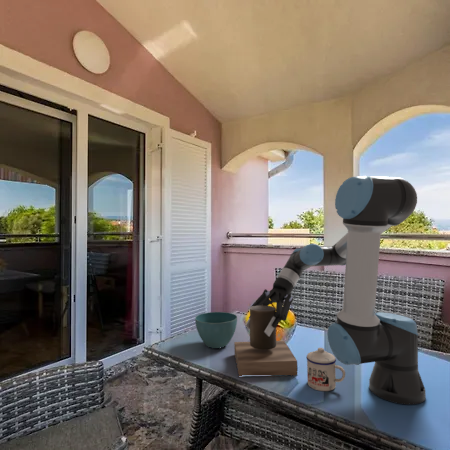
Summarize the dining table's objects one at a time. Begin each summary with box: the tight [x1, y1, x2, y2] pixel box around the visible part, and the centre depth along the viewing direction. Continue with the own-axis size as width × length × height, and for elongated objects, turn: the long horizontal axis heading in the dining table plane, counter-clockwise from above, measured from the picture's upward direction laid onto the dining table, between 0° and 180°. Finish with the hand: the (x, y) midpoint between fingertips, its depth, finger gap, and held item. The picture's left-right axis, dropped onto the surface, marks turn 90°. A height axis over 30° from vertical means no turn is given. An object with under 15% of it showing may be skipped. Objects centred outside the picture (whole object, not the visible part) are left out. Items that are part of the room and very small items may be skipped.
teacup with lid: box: [306, 347, 346, 392], centre depth 103 cm, size 12×9×12 cm
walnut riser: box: [233, 340, 298, 377], centre depth 120 cm, size 20×20×5 cm
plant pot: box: [194, 311, 238, 349], centre depth 141 cm, size 18×18×12 cm
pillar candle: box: [249, 305, 277, 349], centre depth 121 cm, size 10×10×15 cm
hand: (256, 330), depth 119 cm, fingers closed on pillar candle, 9 cm apart
